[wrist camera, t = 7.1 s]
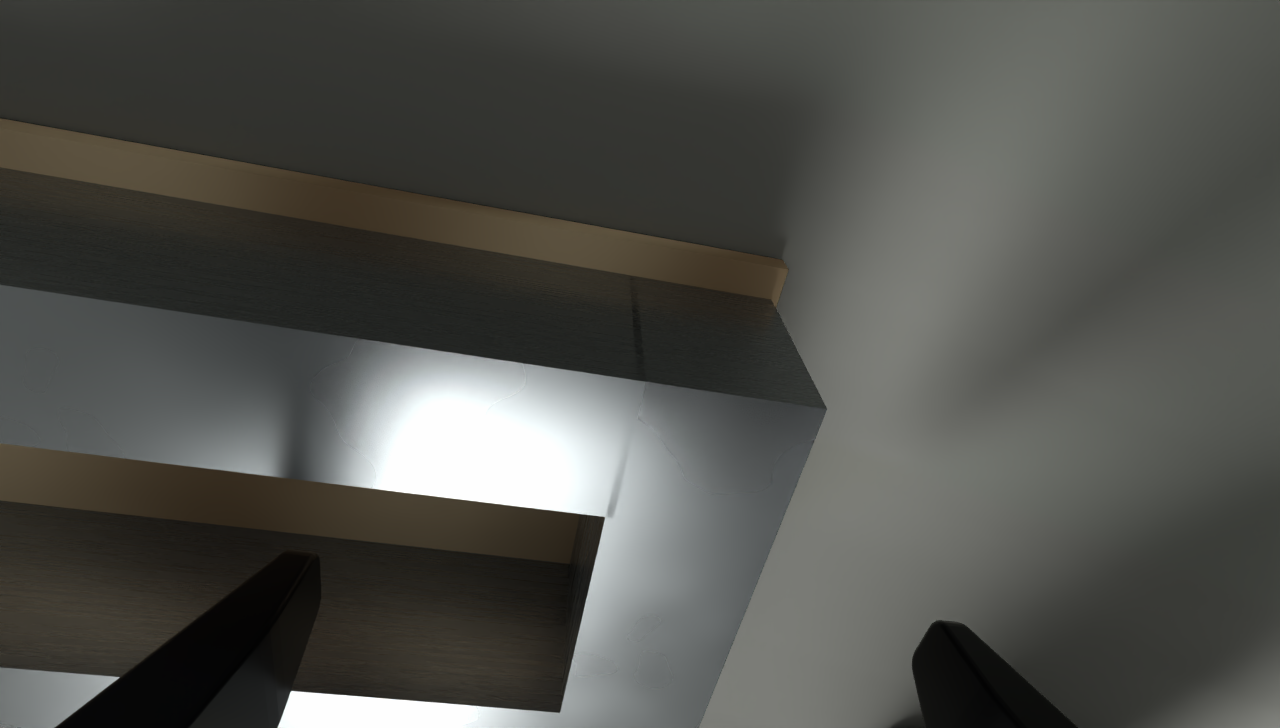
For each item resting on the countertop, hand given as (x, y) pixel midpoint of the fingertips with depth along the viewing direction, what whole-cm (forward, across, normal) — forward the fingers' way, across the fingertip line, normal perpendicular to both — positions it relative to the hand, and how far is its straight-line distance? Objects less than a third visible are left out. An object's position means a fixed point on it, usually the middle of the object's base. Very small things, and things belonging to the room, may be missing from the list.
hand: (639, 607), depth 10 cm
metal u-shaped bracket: (+3, +6, 0) cm, 6 cm away
